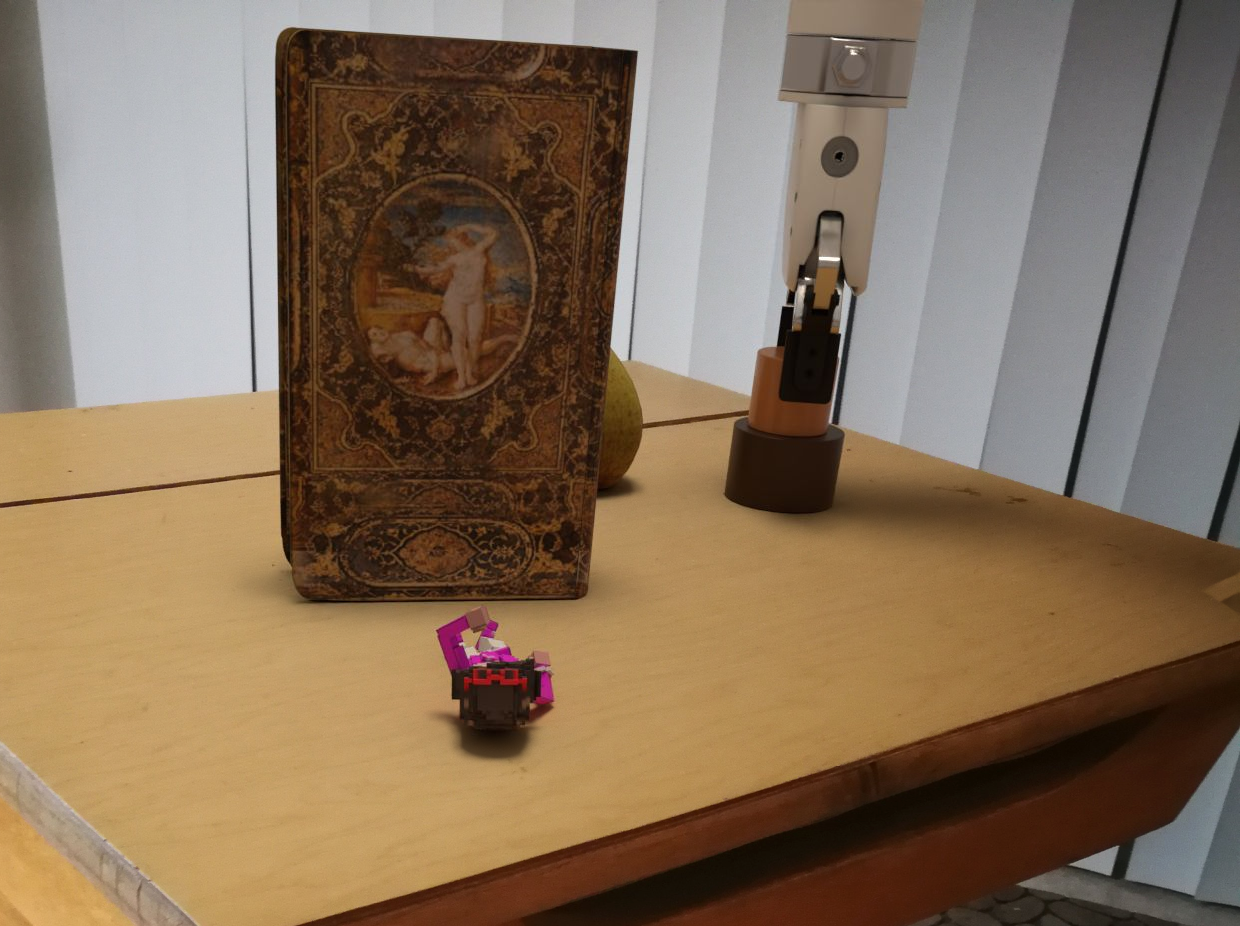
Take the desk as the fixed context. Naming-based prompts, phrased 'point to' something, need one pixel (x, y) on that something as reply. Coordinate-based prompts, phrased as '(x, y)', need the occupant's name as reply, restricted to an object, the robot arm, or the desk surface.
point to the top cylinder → (783, 402)
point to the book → (444, 309)
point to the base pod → (783, 469)
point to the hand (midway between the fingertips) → (800, 386)
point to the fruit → (619, 424)
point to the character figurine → (493, 675)
